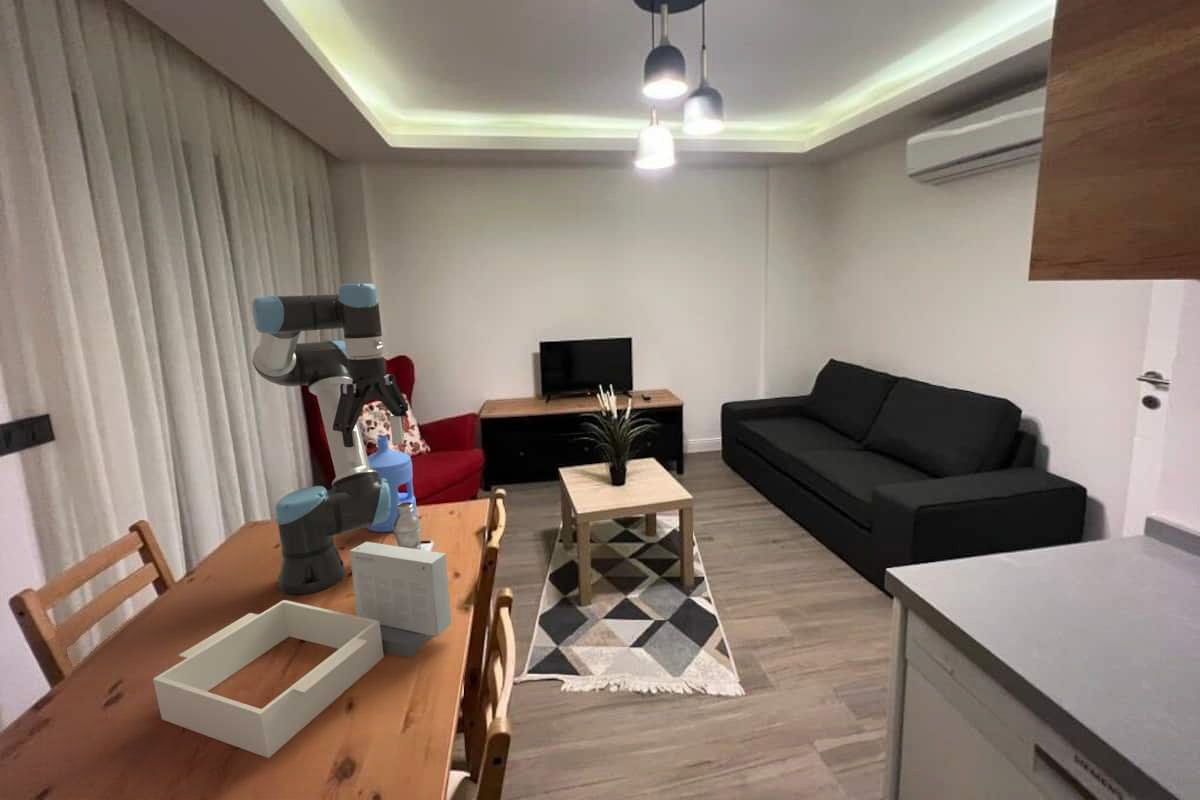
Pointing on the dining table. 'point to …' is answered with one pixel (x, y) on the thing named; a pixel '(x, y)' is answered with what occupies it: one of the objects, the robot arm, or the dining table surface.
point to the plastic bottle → (407, 527)
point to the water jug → (392, 480)
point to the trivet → (401, 641)
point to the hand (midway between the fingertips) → (377, 452)
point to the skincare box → (401, 587)
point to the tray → (243, 643)
